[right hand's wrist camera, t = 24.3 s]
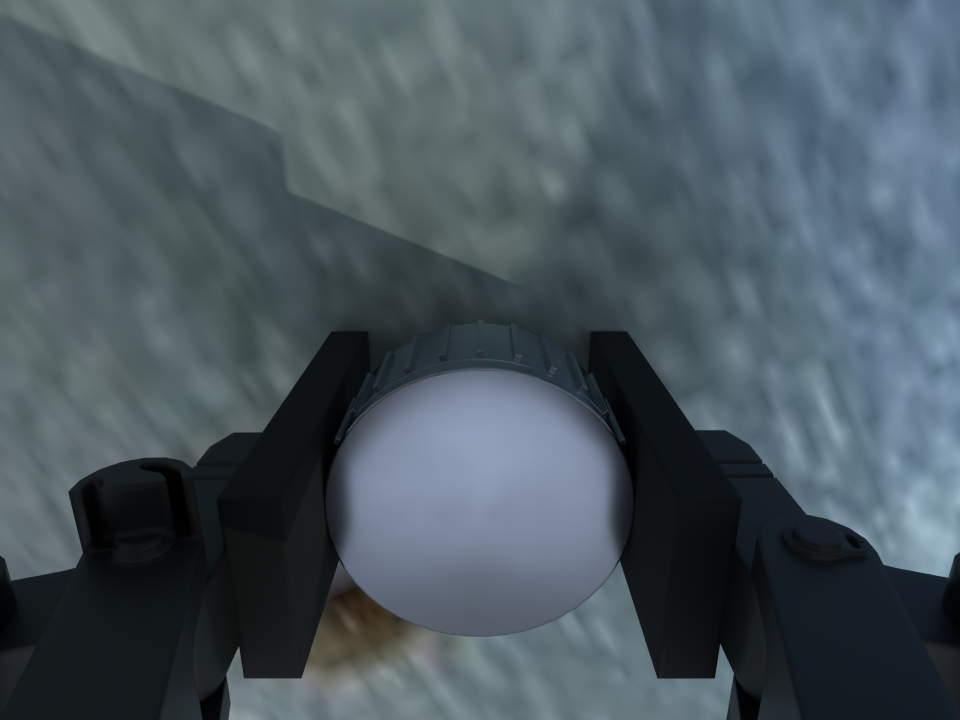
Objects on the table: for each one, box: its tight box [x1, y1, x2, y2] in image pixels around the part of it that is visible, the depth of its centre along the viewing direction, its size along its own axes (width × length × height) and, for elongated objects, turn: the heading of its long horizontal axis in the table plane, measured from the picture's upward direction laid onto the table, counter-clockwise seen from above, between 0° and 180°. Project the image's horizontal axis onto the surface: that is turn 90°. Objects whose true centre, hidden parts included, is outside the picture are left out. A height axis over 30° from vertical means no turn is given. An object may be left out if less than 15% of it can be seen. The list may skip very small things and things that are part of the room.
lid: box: [324, 320, 635, 637], centre depth 11 cm, size 5×5×2 cm
